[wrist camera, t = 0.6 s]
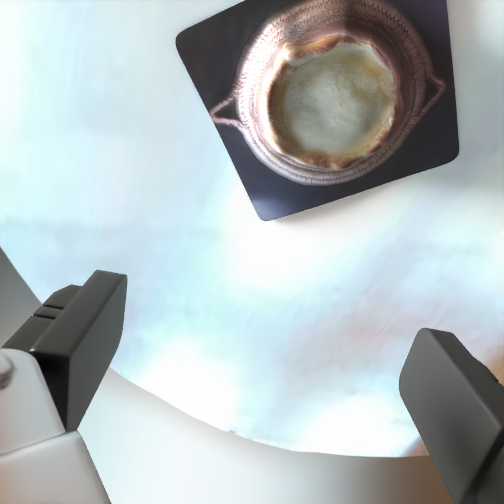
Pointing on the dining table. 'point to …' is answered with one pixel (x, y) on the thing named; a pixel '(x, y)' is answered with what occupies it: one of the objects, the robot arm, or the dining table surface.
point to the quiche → (326, 94)
